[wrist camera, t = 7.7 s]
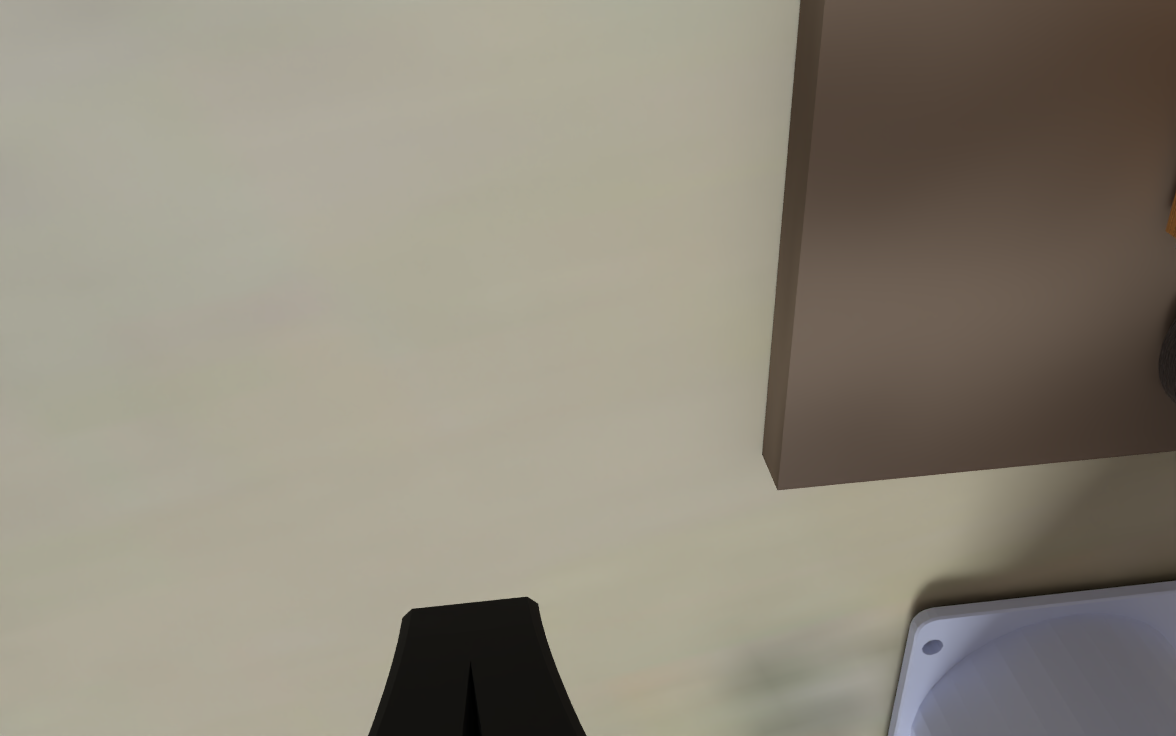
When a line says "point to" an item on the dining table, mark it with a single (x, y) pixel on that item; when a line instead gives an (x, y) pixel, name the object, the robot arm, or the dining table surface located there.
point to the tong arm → (1169, 334)
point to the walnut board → (974, 238)
